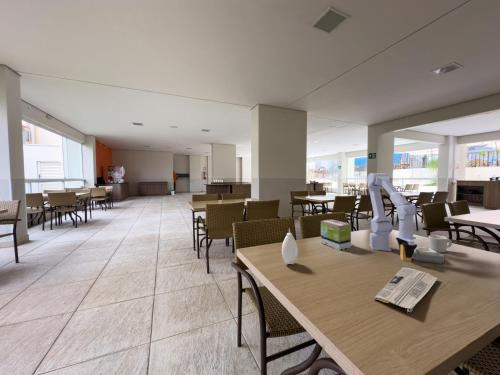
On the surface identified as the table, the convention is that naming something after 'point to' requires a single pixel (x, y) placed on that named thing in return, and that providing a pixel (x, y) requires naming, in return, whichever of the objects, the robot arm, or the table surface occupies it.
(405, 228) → the robot arm
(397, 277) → the newspaper
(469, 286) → the table surface
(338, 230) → the tea box
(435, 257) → the walled box
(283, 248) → the sauce bottle
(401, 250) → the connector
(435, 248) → the cup
